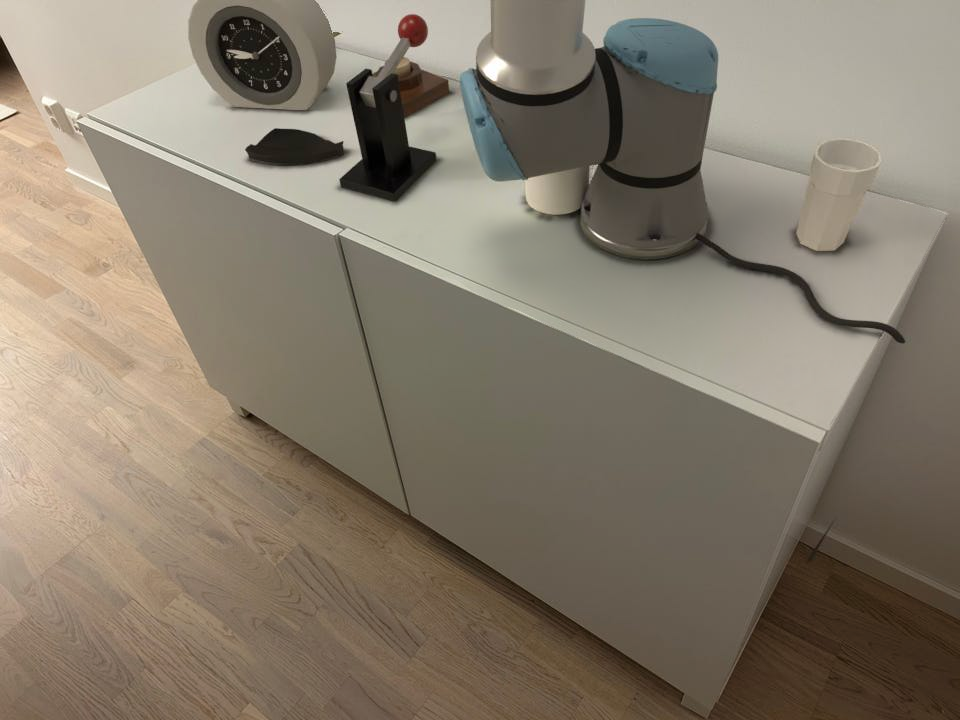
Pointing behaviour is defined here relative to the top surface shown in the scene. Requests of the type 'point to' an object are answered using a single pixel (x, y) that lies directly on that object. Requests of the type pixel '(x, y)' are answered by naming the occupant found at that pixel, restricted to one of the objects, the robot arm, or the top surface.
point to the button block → (419, 88)
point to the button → (403, 67)
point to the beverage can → (558, 191)
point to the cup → (835, 191)
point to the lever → (397, 52)
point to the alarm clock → (263, 51)
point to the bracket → (383, 142)
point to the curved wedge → (293, 148)
